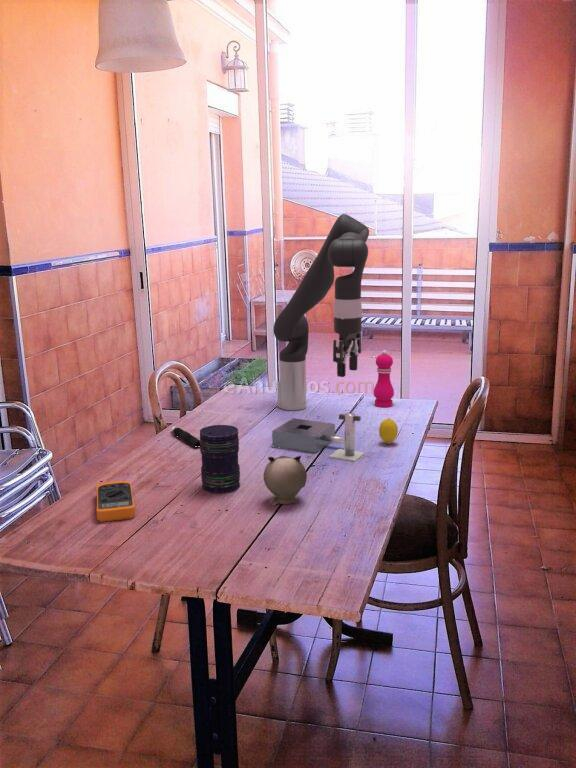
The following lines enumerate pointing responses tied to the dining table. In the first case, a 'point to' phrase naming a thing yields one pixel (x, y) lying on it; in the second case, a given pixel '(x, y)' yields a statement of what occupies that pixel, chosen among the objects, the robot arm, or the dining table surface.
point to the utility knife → (186, 436)
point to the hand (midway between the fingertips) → (347, 373)
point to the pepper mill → (383, 381)
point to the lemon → (388, 430)
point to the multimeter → (115, 501)
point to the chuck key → (349, 432)
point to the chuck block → (305, 435)
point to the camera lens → (219, 459)
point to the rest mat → (341, 455)
